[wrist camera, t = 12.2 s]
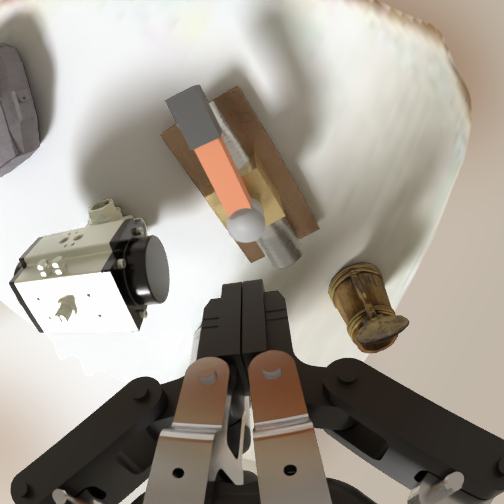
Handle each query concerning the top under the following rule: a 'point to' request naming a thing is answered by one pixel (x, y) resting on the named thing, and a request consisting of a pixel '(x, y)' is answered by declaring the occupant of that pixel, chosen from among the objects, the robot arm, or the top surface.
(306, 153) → the top surface
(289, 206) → the stand
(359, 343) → the wooden mug
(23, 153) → the small grey backpack
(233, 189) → the valve lever
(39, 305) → the ball valve
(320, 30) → the top surface
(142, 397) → the robot arm
